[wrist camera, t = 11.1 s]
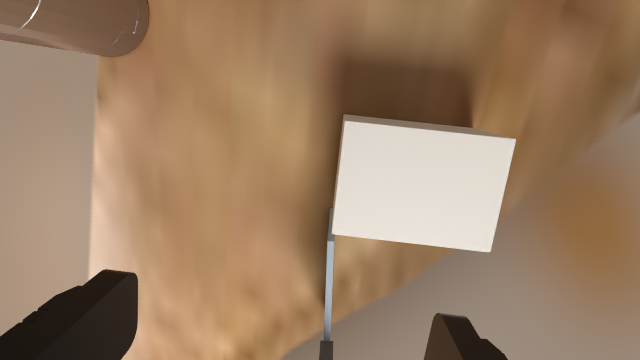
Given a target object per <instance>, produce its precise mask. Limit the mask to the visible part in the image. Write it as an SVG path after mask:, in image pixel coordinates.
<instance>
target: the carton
mask: <svg viewBox="0 0 640 360" xmlns="http://www.w3.org/2000/svg"><path fill="white" fill-rule="evenodd" d="M515 142H516V139H513V138H509V137H505V136H502V135H498V134H494V133H490V132H486V131H482V130H479V129H475V128H468V127H459V126H450V125H440V124H431V123H422V122H412V121H403V120H394V119H384V118H375V117H366V116H356V115H347V114H343V123H342V131H341V140H340V148H339V157H338V166H337V174H336V183H335V192H334V200H333V217H332V234H336V235H344V236H353V237H362V238H370V239H379V240H388V241H396V242H405V243H414V244H422V245H431V246H440V247H448V248H457V249H466V250H474V251H483V252H490V250H491V247H492V242H493V238H494V233H495V229H496V225H497V220H498V216H499V212H500V207H501V203H502V199H503V194H504V190H505V185H506V181H507V177H508V172H509V168H510V164H511V159H512V155H513V150H514V146H515Z"/></svg>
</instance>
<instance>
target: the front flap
mask: <svg viewBox="0 0 640 360" xmlns="http://www.w3.org/2000/svg"><path fill="white" fill-rule="evenodd" d="M332 217H333V208H330V215H329V228H328V241H327V267H326V294H325V320H324V341H321V342H320V355H319V360H333V341H330V329H331V306H332V282H333V258H334V234H332Z"/></svg>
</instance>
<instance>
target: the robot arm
mask: <svg viewBox="0 0 640 360" xmlns="http://www.w3.org/2000/svg"><path fill="white" fill-rule="evenodd" d="M148 22H149V9H148V3H147V0H0V40H5V41H12V42H18V43H25V44H31V45H37V46H44V47H51V48H57V49H62V50H70V51H76V52H80V53H87V54H93V55H100V56H107V57H116V56H122V55H124V54H127V53H129V52H131V51H132V50H133V49H135V48H136V47H137V46H138V45H139V44H140V43H141V41H142V39H143V38H144V36H145V34H146V31H147V27H148ZM137 323H138V278H137V275H136V274H135V273H131V272H123V271H115V270H108V269H105V270H102V271H101V272H100V273H98V274H97V275H96V276H94V277H93V278H92V279H91V280H89V281H88V282H87V283H85V284H84V285H83V286H76V287H74V288H72V289H69V290H67V291H65V292H62V293H60V294H58V295H56V296H54V297H53V298H52V299H50V300H49V301H48V302H46V303H45V304H43V305H42V306H41V307H39V308H38V311H34V312H33V313H31V314H30V315H29V316H27V317H26V318H25V319H23V322H22V323H18V324H16V325H15V326H14V327H13V328H11V329H10V330H8V331H7V332H6V333H4V334H3V335H2V336H0V360H121V359H122V357H123V356H124V355H125V354H126V352H127V351H128V350H129V348H130V347H131V345H132V343H133V340H134V338H135V335H136V331H137ZM424 360H508V359H507V358H506V356H505V355H504V354H503V353H502V352H501V351H500V350H499V349H497V348H496V347H495V346H494V345H493V344H492V343H491V342H489V341H488V340H487V339H481V338H480V337H479V336H478V334H477V332H476V331H475V329H474V327H473V326H472V324H471V323H470V321H469V320H468V318H467V317H465V316H456V315H448V314H442V313H437V314H436V315H435V316H434V318H433V322H432V326H431V331H430V335H429V339H428V344H427V348H426V353H425V357H424Z"/></svg>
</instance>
